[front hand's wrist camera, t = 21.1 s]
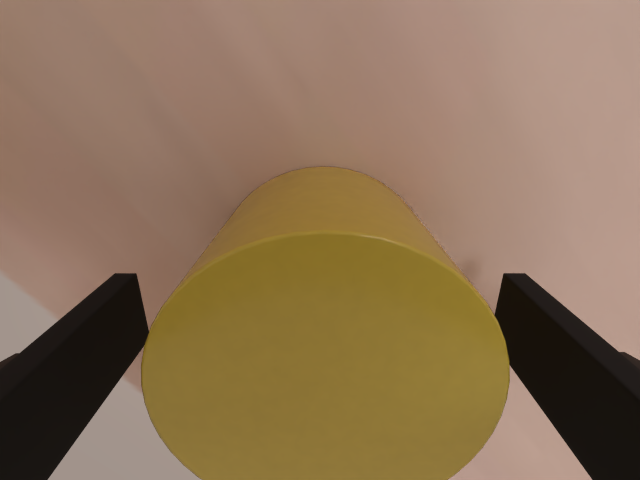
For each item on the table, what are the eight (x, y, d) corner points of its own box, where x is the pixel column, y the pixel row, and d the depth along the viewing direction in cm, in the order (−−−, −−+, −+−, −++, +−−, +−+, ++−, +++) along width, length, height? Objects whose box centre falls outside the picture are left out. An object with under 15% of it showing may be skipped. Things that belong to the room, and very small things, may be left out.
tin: (450, 314, 16) (542, 467, 9) (276, 374, 18) (248, 546, 11) (385, 128, 13) (454, 158, 6) (180, 218, 14) (59, 321, 8)
